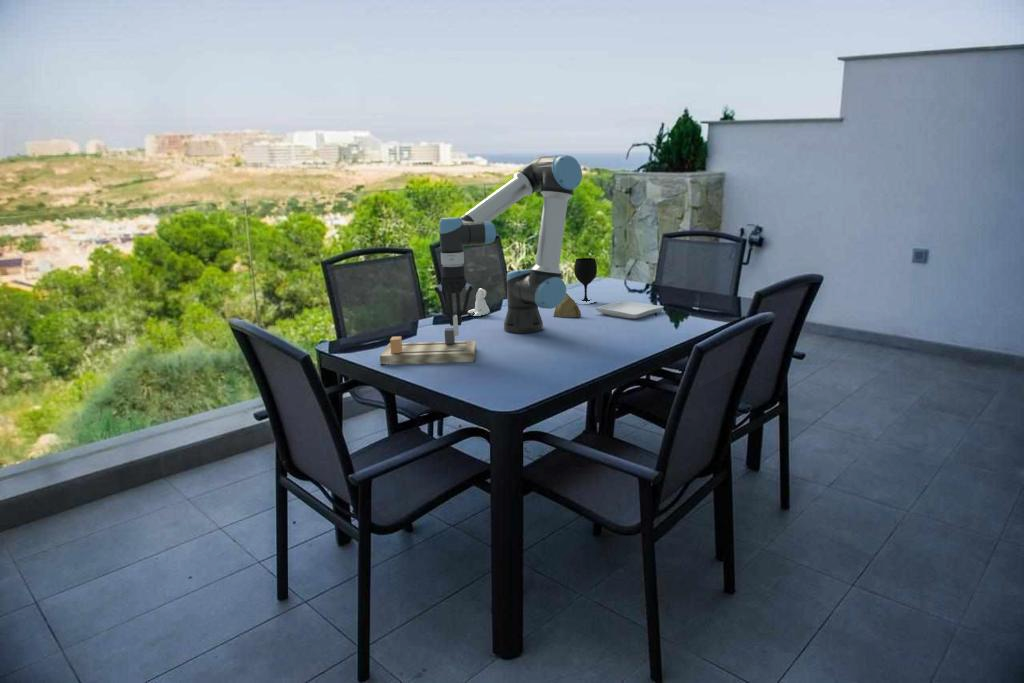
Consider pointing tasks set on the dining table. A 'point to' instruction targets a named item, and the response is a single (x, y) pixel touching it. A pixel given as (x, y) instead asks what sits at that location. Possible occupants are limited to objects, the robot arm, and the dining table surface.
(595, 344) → the dining table surface
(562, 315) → the rock
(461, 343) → the fader console
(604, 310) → the salad plate
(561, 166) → the robot arm
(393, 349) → the orange fader
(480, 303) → the white creature statuette
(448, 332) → the graphite fader
